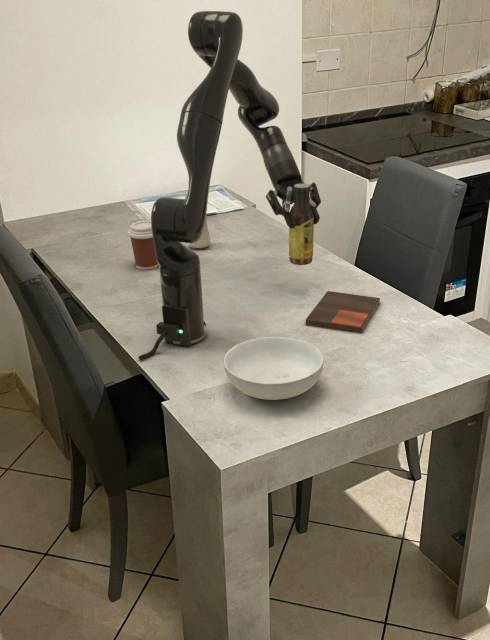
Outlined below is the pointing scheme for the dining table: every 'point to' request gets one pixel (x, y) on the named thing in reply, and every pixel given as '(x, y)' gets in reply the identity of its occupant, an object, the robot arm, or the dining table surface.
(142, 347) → the dining table surface
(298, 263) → the sauce bottle
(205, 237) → the plastic bottle
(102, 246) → the dining table surface
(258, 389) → the serving bowl
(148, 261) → the coffee cup
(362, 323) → the walnut board
